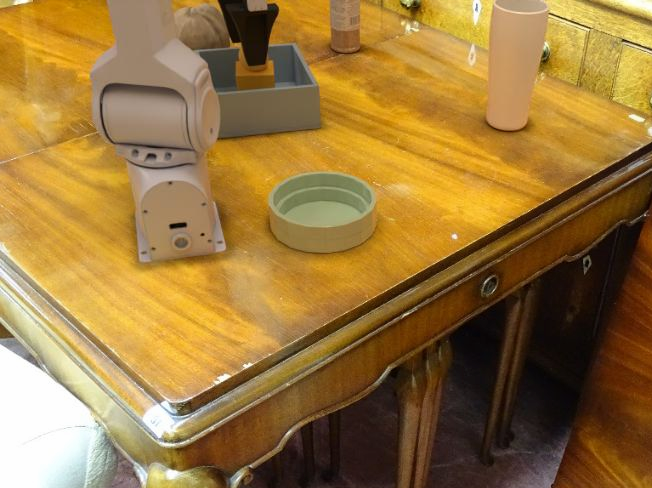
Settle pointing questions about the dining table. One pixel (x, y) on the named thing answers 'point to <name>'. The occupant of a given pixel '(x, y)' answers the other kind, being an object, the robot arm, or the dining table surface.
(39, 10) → the dining table surface
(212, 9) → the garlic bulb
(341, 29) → the sprinkles bottle
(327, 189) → the bowl
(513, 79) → the drinking glass
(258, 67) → the orange ball-topped block
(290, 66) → the bin
